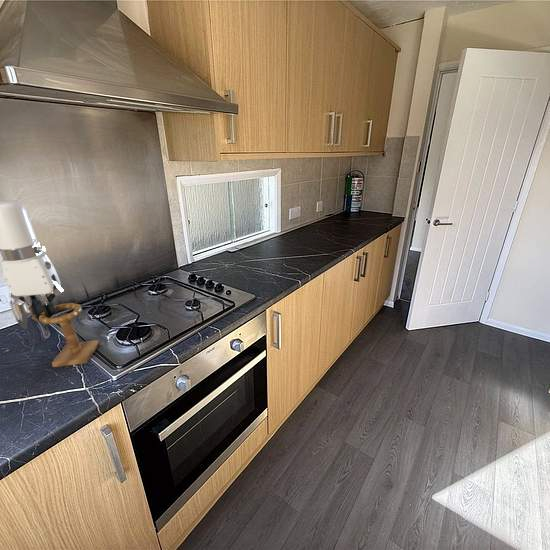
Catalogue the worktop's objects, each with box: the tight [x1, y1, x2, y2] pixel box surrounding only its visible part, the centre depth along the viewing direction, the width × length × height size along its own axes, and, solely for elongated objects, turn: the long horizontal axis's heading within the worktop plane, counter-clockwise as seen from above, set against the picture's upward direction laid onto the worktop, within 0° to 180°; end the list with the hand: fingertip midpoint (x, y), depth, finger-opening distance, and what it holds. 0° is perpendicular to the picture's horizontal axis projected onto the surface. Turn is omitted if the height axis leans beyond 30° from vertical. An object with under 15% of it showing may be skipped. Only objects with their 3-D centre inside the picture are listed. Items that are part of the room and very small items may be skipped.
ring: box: [39, 302, 83, 325], centre depth 80 cm, size 10×10×2 cm
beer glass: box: [9, 295, 52, 345], centre depth 90 cm, size 7×7×15 cm
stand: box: [51, 312, 100, 368], centre depth 83 cm, size 9×9×14 cm
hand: (46, 315), depth 80 cm, fingers closed on ring, 2 cm apart
